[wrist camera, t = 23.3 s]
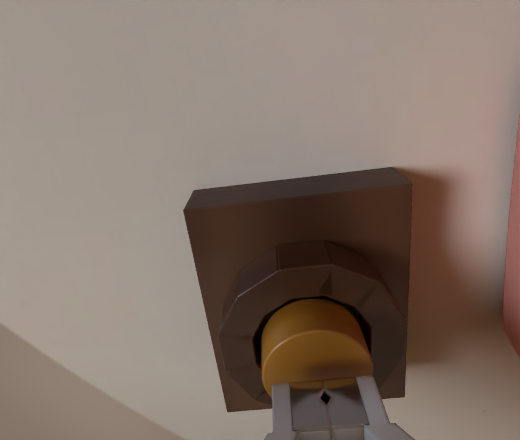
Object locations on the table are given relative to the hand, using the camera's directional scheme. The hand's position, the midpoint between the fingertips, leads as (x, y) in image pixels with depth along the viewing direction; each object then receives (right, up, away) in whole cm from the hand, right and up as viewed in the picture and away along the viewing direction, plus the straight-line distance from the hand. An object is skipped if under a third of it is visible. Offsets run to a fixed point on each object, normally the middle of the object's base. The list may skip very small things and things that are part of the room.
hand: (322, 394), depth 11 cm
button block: (0, +2, +6) cm, 6 cm away
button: (0, +1, +2) cm, 3 cm away
